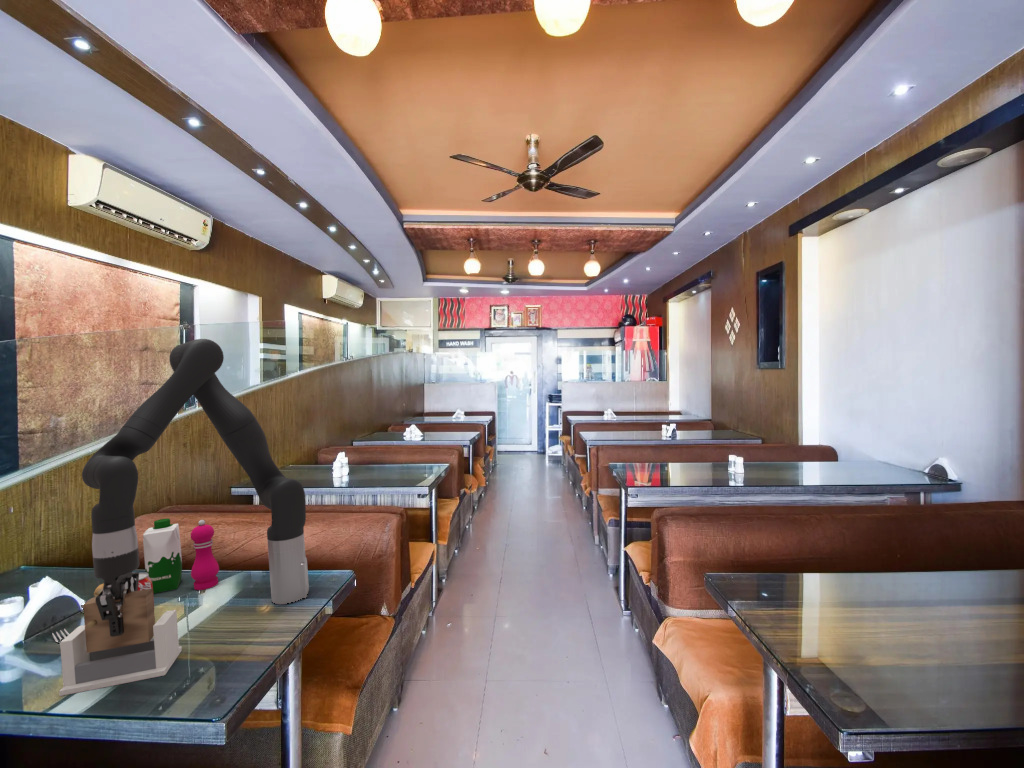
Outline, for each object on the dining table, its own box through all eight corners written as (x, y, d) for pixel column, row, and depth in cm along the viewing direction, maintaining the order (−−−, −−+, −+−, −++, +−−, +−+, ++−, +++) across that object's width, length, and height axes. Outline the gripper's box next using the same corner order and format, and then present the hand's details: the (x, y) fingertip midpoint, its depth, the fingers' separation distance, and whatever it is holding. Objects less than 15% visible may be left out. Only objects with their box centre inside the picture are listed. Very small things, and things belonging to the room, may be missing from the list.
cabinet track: (181, 650, 112) (178, 606, 112) (164, 675, 103) (161, 627, 103) (86, 668, 107) (83, 622, 107) (59, 696, 98) (55, 646, 98)
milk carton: (185, 579, 155) (180, 516, 155) (179, 589, 147) (175, 523, 147) (151, 585, 152) (146, 521, 151) (144, 597, 144) (138, 528, 143)
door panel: (155, 633, 108) (152, 588, 108) (147, 644, 104) (143, 597, 104) (95, 644, 105) (92, 597, 105) (84, 655, 101) (80, 607, 101)
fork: (89, 666, 108) (88, 658, 108) (50, 640, 121) (49, 633, 121) (106, 659, 111) (106, 651, 111) (67, 634, 124) (66, 627, 124)
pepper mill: (200, 581, 152) (195, 517, 152) (224, 579, 153) (220, 515, 153) (186, 592, 145) (181, 524, 145) (212, 589, 146) (207, 522, 145)
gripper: (120, 558, 99) (127, 643, 99) (150, 537, 112) (156, 612, 113) (75, 564, 97) (82, 651, 97) (111, 542, 110) (117, 618, 111)
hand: (122, 630), depth 105 cm, fingers closed on door panel, 3 cm apart
